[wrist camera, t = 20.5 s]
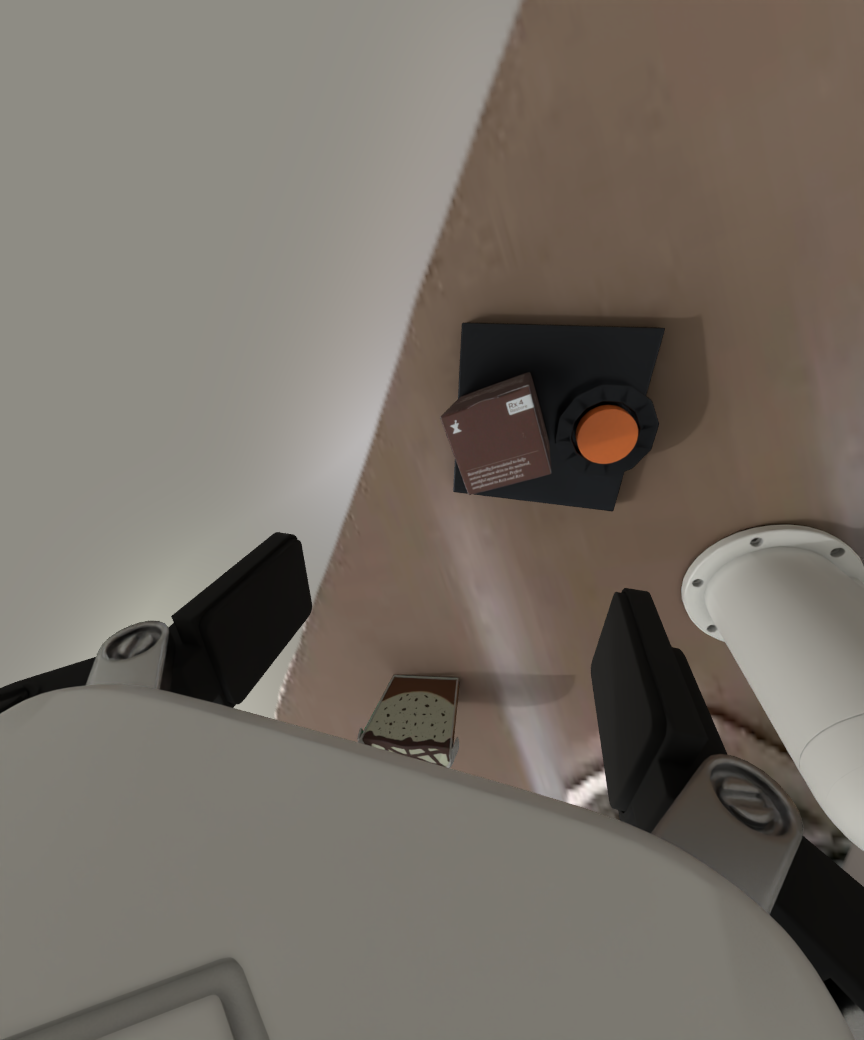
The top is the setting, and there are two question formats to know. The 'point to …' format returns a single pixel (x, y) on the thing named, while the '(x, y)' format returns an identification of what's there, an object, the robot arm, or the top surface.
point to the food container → (416, 719)
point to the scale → (567, 397)
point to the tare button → (606, 434)
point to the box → (498, 435)
